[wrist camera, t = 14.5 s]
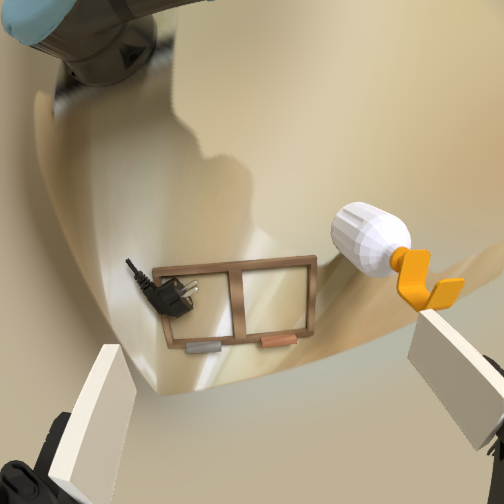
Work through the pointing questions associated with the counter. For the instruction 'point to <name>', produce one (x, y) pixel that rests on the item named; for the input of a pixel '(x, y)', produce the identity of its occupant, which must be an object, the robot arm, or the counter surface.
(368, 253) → the soap bottle
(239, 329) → the strip
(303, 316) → the counter surface
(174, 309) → the power plug
